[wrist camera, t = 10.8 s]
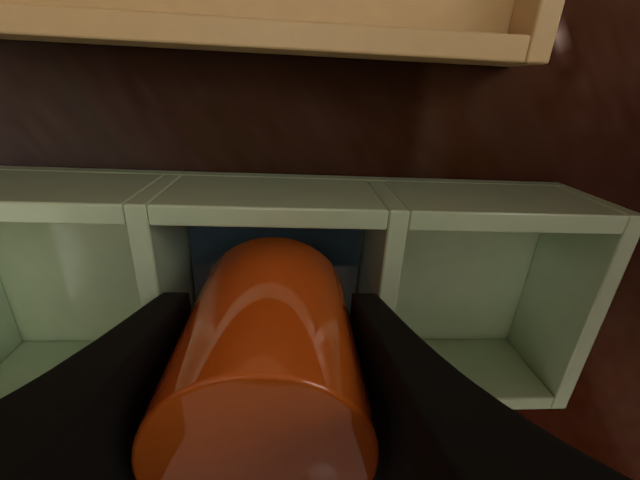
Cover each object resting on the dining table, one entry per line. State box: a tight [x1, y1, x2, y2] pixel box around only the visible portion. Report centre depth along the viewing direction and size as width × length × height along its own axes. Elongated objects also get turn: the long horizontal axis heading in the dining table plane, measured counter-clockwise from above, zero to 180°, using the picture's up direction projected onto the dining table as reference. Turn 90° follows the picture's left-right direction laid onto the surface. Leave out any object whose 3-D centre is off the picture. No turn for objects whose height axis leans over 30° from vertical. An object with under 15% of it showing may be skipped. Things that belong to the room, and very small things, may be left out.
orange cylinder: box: [131, 237, 380, 480], centre depth 8 cm, size 4×4×5 cm
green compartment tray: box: [0, 166, 640, 410], centre depth 11 cm, size 18×6×3 cm, turn 88°
